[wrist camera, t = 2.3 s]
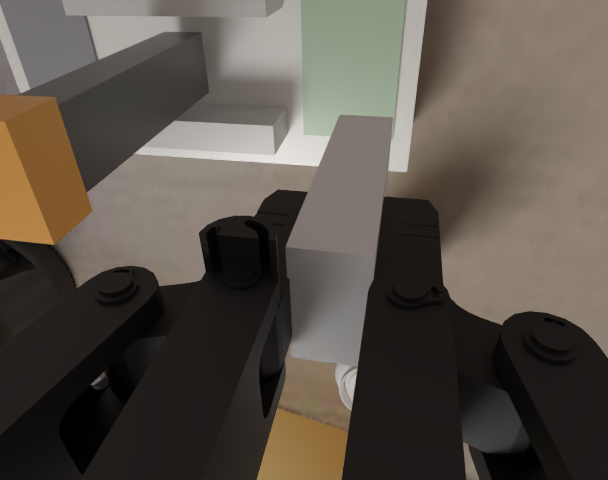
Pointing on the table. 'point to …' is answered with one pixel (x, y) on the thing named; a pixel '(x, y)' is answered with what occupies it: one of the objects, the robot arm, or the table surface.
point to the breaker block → (244, 67)
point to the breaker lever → (89, 130)
